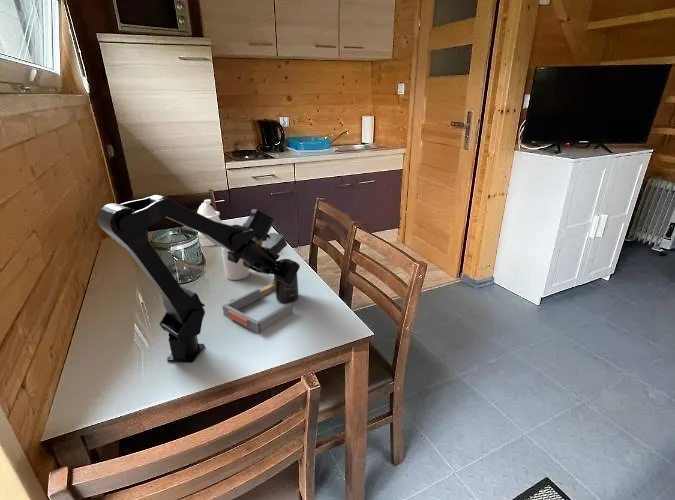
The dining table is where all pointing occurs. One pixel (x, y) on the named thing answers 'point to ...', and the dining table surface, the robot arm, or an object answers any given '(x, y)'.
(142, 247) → the robot arm
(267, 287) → the rail
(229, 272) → the pill bottle
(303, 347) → the dining table surface
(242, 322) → the bay
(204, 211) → the honey pot
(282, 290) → the supplement bottle
